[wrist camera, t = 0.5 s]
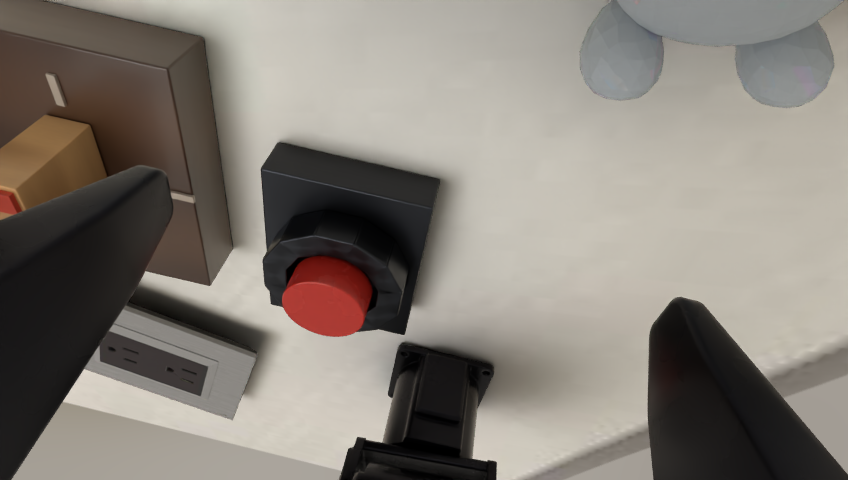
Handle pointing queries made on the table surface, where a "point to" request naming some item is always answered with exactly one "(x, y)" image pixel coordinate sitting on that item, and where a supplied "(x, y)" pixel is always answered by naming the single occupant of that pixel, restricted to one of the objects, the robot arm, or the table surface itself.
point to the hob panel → (125, 113)
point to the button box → (347, 225)
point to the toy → (712, 26)
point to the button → (328, 296)
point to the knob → (47, 163)
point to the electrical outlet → (175, 361)
